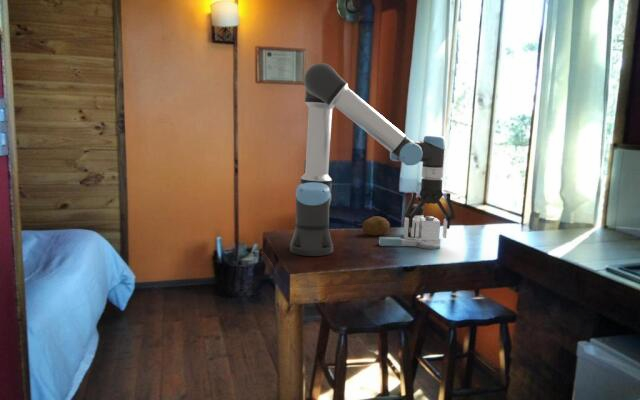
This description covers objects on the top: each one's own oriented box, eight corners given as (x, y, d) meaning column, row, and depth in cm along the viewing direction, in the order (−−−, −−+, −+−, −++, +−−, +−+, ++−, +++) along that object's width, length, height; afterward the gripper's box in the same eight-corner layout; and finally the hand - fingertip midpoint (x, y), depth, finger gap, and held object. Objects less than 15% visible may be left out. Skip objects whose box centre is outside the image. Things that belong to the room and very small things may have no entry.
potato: (357, 234, 209) (358, 215, 208) (381, 231, 216) (382, 213, 214) (369, 238, 202) (370, 219, 201) (394, 235, 209) (395, 216, 208)
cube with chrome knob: (421, 240, 189) (422, 218, 188) (418, 236, 196) (419, 214, 194) (438, 240, 189) (440, 218, 188) (435, 236, 195) (436, 215, 194)
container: (423, 240, 202) (425, 207, 200) (403, 238, 204) (405, 206, 202) (423, 235, 210) (425, 204, 208) (404, 234, 211) (406, 203, 209)
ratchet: (380, 247, 189) (381, 227, 188) (378, 241, 198) (379, 222, 197) (442, 249, 188) (443, 229, 187) (437, 243, 197) (438, 224, 196)
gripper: (401, 178, 185) (397, 238, 189) (467, 180, 185) (462, 240, 188) (398, 176, 193) (395, 233, 196) (461, 178, 192) (457, 235, 196)
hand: (428, 236), depth 192 cm, fingers open, 11 cm apart
